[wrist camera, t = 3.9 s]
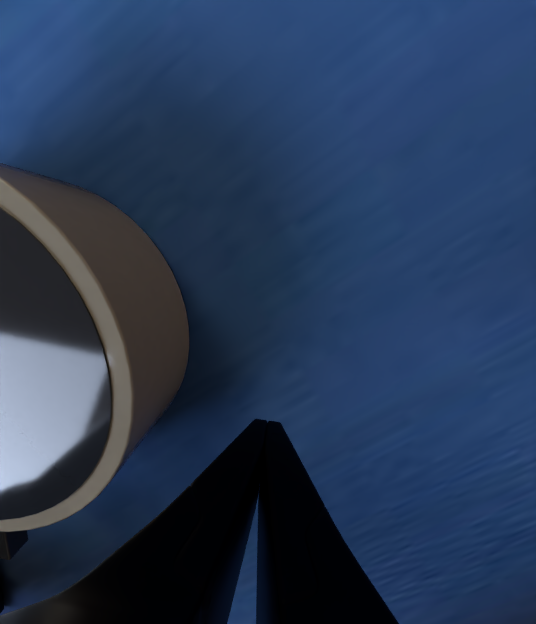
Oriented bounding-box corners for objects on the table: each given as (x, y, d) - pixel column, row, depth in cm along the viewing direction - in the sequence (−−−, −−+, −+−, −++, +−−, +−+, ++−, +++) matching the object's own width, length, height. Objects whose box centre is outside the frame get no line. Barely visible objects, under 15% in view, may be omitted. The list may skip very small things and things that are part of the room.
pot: (-39, 458, 18) (-175, 544, 13) (-113, 107, 13) (-388, 12, 8) (185, 494, 17) (137, 605, 12) (196, 131, 12) (122, 41, 7)
